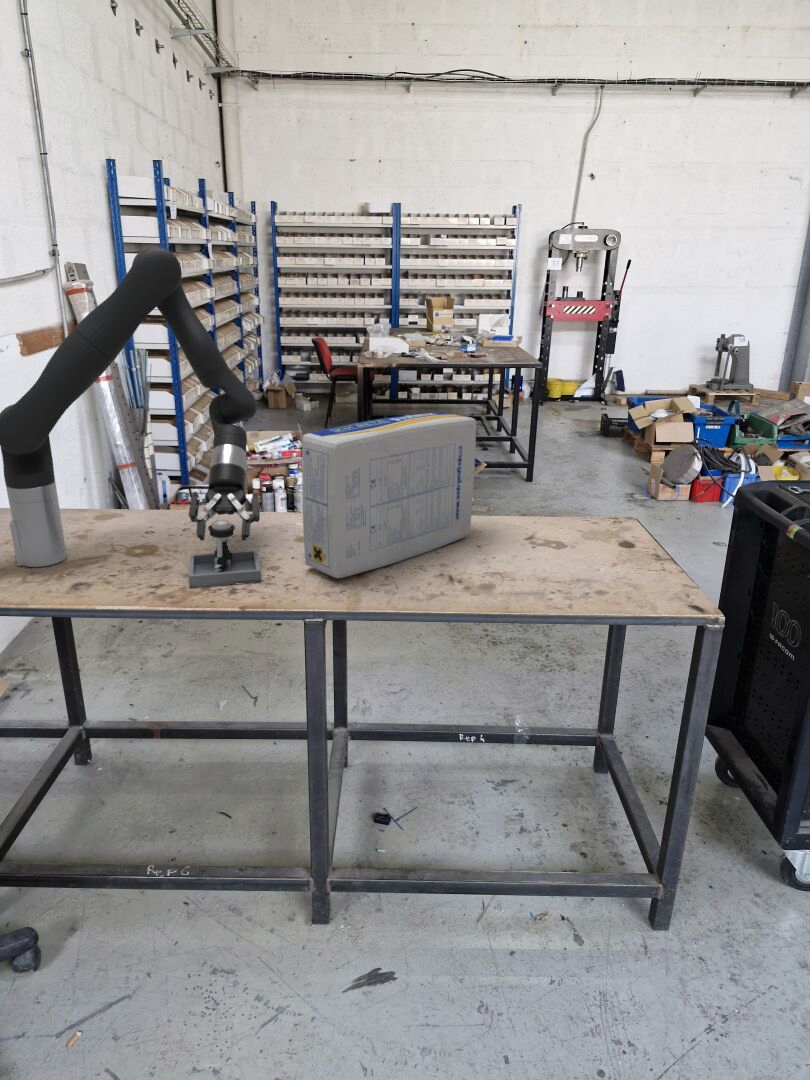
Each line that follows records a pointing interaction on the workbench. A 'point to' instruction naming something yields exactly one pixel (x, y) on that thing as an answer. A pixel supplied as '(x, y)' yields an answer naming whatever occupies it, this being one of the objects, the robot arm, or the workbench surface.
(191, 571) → the tray
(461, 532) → the construction material bag
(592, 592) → the workbench surface
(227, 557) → the push button
